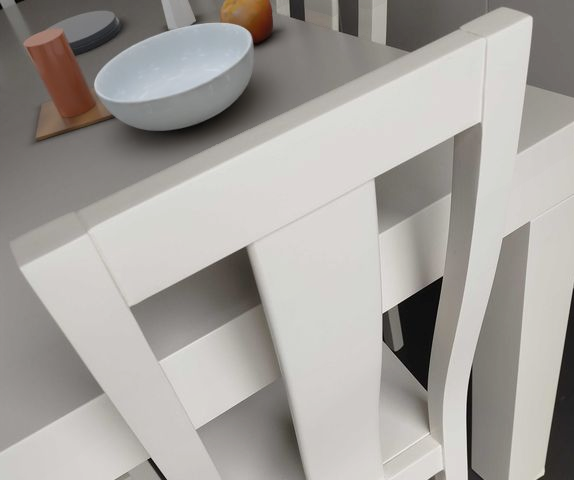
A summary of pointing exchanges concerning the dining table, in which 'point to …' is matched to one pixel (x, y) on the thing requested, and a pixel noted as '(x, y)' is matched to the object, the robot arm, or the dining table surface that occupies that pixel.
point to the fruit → (249, 16)
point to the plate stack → (89, 30)
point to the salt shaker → (178, 13)
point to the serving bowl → (178, 76)
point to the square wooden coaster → (68, 119)
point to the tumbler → (60, 72)
